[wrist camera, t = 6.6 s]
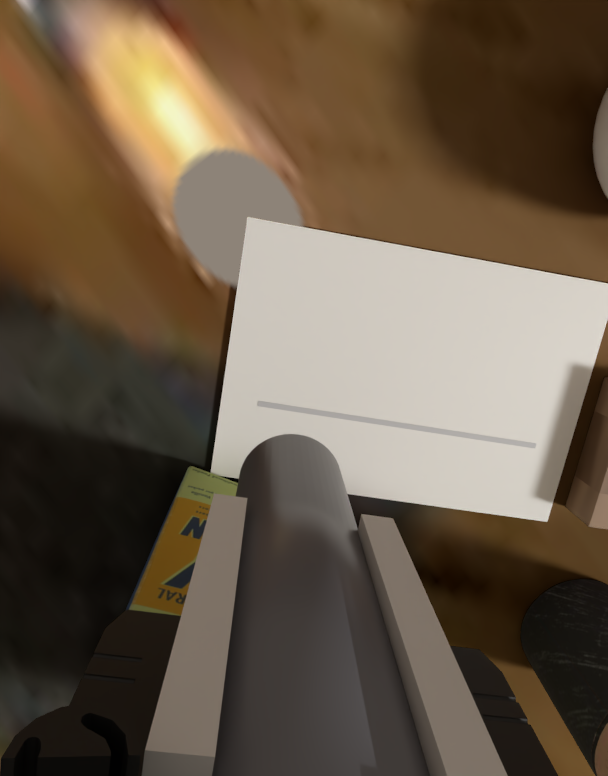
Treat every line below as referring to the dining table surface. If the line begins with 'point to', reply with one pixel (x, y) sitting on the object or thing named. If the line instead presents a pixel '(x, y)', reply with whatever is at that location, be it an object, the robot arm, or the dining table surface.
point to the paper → (409, 367)
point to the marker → (308, 633)
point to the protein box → (178, 544)
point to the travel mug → (574, 660)
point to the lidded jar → (601, 144)
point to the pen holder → (593, 470)
